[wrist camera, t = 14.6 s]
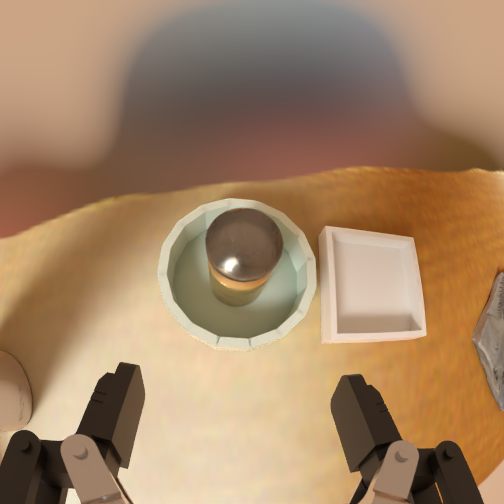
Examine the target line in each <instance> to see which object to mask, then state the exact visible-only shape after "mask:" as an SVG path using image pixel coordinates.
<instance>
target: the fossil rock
mask: <svg viewBox="0 0 504 504" xmlns="http://www.w3.org/2000/svg"><path fill="white" fill-rule="evenodd" d="M472 341H473V343H474V345H475V347H476V349H477V352H478V355H479V358H480V362H481V363H482V365H483V367H484V369H485V372H486V375H487V380H488V383H489V386H490V388H491V390H492V393H493V395H494V397H495V399H496V401H497V403H498V405H499V408H500V410H504V273H503V272H501V273H500V274H498V275H497V276H496V278H495V280H494V282H493V286H492V290H491V294H490V298H489V300H488V303H487V304H486V306H485V308H484V310H483V312H482V314H481V316H480V318H479V321H478V323H477V326H476V328H475V331H474V333H473V336H472Z"/></svg>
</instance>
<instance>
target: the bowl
mask: <svg viewBox="0 0 504 504" xmlns="http://www.w3.org/2000/svg"><path fill="white" fill-rule="evenodd" d="M235 208H251V209H255V210H258V211H260V212H262V213H264V214H266V215H267V216H269V217H270V218H271V219H272V220H273V221H274V222H275V223H276V224H277V226H278V227H279V229H280V231H281V234H282V238H283V251H282V255H281V257H280V259H279V261H278V263H277V265H276V267H275V268H274V269H273V271H272V273H271V275H270V277H269V279H268V281H267V283H266V285H265V287H264V289H263V291H262V292H261V294H260V296H259V297H258V298H257V299H256V300H255V301H254V302H253V303H251V304H249V305H247V306H244V307H231V306H228V305H225V304H223V303H222V302H220V301H219V300H218V299H217V298H216V297H215V295H214V294H213V292H212V290H211V286H210V278H209V268H208V258H207V254H206V246H205V237H206V233H207V230H208V228H209V226H210V224H211V223H212V221H213V220H214V219H215V218H216V217H217V216H219V215H220V214H222V213H223V212H225V211H228V210H231V209H235ZM157 277H158V281H159V285H160V289H161V293H162V297H163V301H164V304H165V306H166V307H167V309H168V310H169V311H170V312H171V314H172V315H173V316H174V317H175V319H176V320H177V321H178V322H179V324H180V325H181V326H182V327H183V329H184V330H185V331H186V332H187V333H188V334H189V335H190V336H191V337H193V338H195V339H197V340H199V341H200V342H202V343H204V344H206V345H209V346H211V347H213V348H214V349H217V350H227V351H245V352H247V351H250V350H253V349H255V348H259V347H261V346H264V345H267V344H269V343H272V342H275V341H277V340H279V339H281V338H283V337H284V336H285V335H286V334H287V333H288V332H289V331H290V330H291V329H292V328H293V327H294V326H295V325H296V324H297V323H298V322H299V321H300V320H301V319H302V318H303V317H304V316H305V315H306V313H307V310H308V308H309V305H310V303H311V300H312V298H313V295H314V293H315V290H316V287H317V284H316V259H315V256H314V254H313V252H312V250H311V247H310V245H309V243H308V241H307V239H306V237H305V234H304V233H303V231H302V230H301V229H300V228H299V227H298V226H296V225H295V224H294V223H293V222H292V221H291V220H290V219H289V218H288V217H287V216H286V215H285V214H284V213H283V212H281V211H279V210H277V209H274V208H272V207H270V206H268V205H266V204H263V203H261V202H259V201H255V200H245V199H234V198H227V199H223V200H219V201H215V202H211V203H207V204H203V205H201V206H199V207H198V208H196V209H195V210H193V211H192V212H190V213H189V214H187V215H186V216H184V217H183V218H182V219H180V220H179V221H178V222H177V223H176V225H175V226H174V228H173V229H172V231H171V232H170V234H169V235H168V237H167V238H166V240H165V241H164V243H163V244H162V248H161V253H160V259H159V265H158V271H157Z"/></svg>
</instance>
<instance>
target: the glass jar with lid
mask: <svg viewBox="0 0 504 504" xmlns="http://www.w3.org/2000/svg"><path fill="white" fill-rule="evenodd" d="M205 246H206V254H207V258H208V268H209V278H210V286H211V290H212V292H213V294H214V295H215V297H216V298H217V299H218V300H219V301H220V302H222V303H223V304H225V305H228V306H231V307H244V306H247V305H249V304H251V303H253V302H254V301H255V300H256V299H257V298H258V297H259V296H260V294H261V292H262V291H263V289H264V287H265V285H266V283H267V281H268V279H269V277H270V275H271V273H272V271H273V269H274V268H275V267H276V265H277V263H278V261H279V259H280V257H281V255H282V251H283V238H282V234H281V231H280V229H279V227H278V226H277V224H276V223H275V222H274V221H273V220H272V219H271V218H270V217H269V216H267V215H266V214H264V213H262V212H260V211H258V210H255V209H251V208H235V209H231V210H228V211H225V212H223V213H222V214H220V215H219V216H217V217H216V218H215V219H214V220H213V221H212V223H211V224H210V226H209V228H208V230H207V233H206V237H205Z"/></svg>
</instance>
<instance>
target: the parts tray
mask: <svg viewBox="0 0 504 504" xmlns="http://www.w3.org/2000/svg"><path fill="white" fill-rule="evenodd" d="M318 247H319V266H320V292H321V343H358V342H380V341H396V340H409V339H415V338H419V337H423V336H427V335H426V321H425V310H424V301H423V293H422V285H421V278H420V271H419V265H418V259H417V254H416V249H415V243H414V239H413V237H406V236H399V235H392V234H385V233H378V232H371V231H363V230H356V229H348V228H340V227H332V226H325V227H324V229H323V230H322V232H321V233H320V235H319V236H318Z"/></svg>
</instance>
